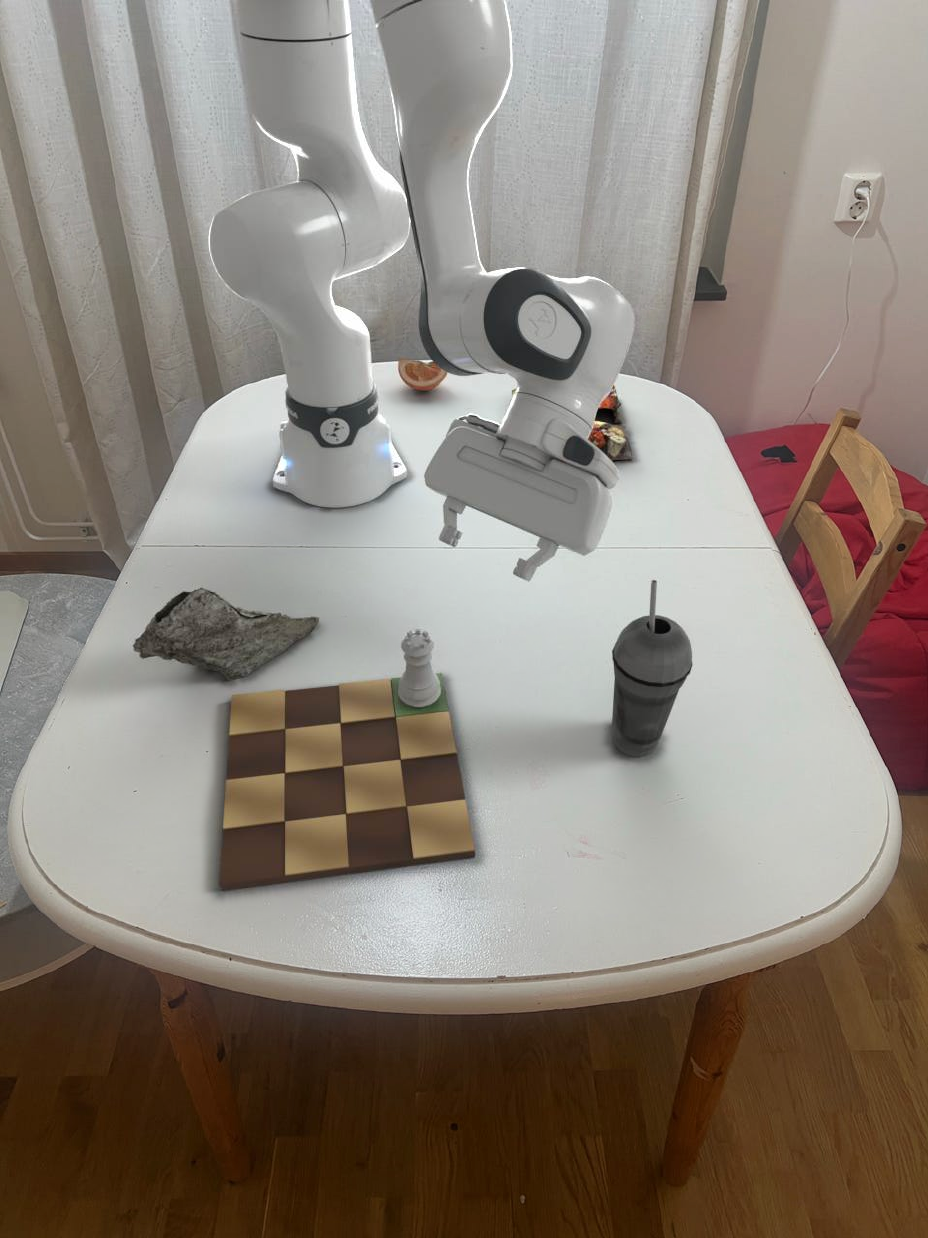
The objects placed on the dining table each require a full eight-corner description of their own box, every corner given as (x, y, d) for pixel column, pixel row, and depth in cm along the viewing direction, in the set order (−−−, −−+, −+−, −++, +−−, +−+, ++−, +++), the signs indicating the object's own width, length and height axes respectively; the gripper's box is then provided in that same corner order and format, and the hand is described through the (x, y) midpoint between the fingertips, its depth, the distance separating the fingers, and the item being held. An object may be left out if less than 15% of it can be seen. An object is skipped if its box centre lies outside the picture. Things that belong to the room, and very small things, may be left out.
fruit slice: (451, 380, 144) (451, 352, 140) (447, 399, 139) (447, 371, 135) (402, 378, 144) (401, 350, 141) (396, 397, 139) (395, 368, 136)
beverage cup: (654, 780, 82) (692, 626, 68) (585, 748, 85) (609, 594, 71) (682, 730, 86) (723, 577, 73) (616, 702, 89) (644, 550, 76)
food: (634, 466, 124) (638, 445, 121) (506, 465, 124) (507, 443, 122) (616, 395, 140) (619, 374, 138) (503, 394, 140) (503, 373, 138)
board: (233, 702, 89) (231, 694, 88) (442, 680, 91) (442, 672, 91) (221, 891, 73) (218, 883, 72) (475, 857, 75) (475, 850, 74)
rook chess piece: (435, 713, 86) (434, 656, 81) (393, 706, 87) (389, 650, 82) (445, 682, 90) (444, 625, 84) (404, 675, 90) (400, 619, 85)
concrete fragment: (326, 633, 97) (316, 556, 90) (171, 717, 87) (145, 639, 80) (296, 605, 100) (284, 529, 93) (143, 683, 91) (116, 606, 83)
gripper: (446, 397, 89) (391, 517, 90) (619, 461, 81) (556, 593, 81) (470, 418, 95) (418, 531, 96) (634, 480, 86) (575, 604, 87)
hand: (482, 560), depth 89 cm, fingers open, 8 cm apart
